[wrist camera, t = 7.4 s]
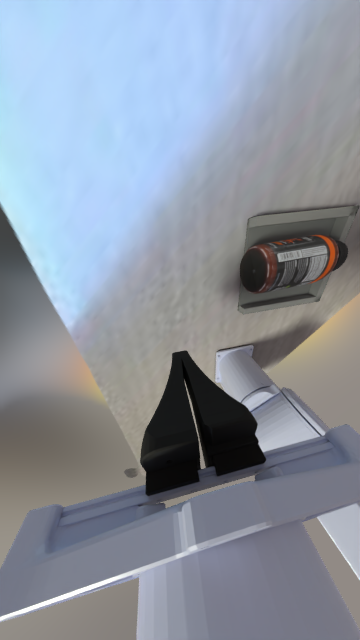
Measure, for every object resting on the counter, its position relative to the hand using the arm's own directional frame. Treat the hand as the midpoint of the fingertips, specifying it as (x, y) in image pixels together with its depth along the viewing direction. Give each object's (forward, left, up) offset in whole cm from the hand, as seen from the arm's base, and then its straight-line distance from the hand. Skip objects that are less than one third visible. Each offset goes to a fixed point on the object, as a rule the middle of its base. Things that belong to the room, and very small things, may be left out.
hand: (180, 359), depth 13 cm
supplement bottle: (+6, -11, -7) cm, 14 cm away
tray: (+5, -19, -10) cm, 22 cm away
